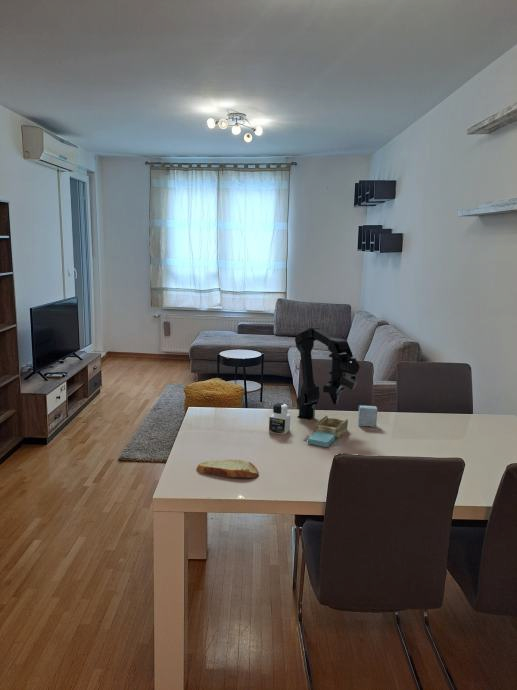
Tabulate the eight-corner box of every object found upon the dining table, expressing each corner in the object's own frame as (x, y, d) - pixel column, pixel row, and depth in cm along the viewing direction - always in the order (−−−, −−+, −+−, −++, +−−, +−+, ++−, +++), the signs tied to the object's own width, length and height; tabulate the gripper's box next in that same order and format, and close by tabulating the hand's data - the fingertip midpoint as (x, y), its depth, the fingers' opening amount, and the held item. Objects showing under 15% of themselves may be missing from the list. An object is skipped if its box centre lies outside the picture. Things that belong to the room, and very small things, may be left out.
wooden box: (314, 435, 221) (315, 423, 220) (325, 426, 234) (325, 415, 233) (337, 439, 217) (338, 427, 216) (347, 430, 229) (347, 418, 229)
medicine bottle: (268, 432, 223) (269, 405, 221) (274, 427, 229) (275, 401, 227) (284, 435, 220) (285, 407, 218) (289, 430, 227) (291, 403, 225)
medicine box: (375, 424, 239) (376, 406, 237) (376, 427, 234) (377, 409, 233) (357, 423, 239) (358, 405, 238) (358, 426, 235) (359, 407, 233)
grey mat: (303, 440, 215) (303, 439, 215) (307, 436, 219) (307, 436, 219) (336, 446, 209) (336, 446, 209) (340, 442, 213) (340, 442, 213)
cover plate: (307, 443, 211) (307, 438, 210) (316, 435, 221) (316, 430, 220) (327, 447, 207) (327, 442, 207) (335, 438, 217) (335, 434, 217)
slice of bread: (192, 469, 183) (192, 459, 183) (236, 459, 194) (236, 449, 193) (218, 488, 169) (218, 477, 168) (264, 477, 179) (264, 466, 179)
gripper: (349, 376, 212) (346, 413, 215) (362, 368, 228) (359, 402, 231) (323, 372, 217) (320, 408, 220) (338, 364, 233) (335, 398, 236)
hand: (335, 404), depth 227 cm, fingers closed
